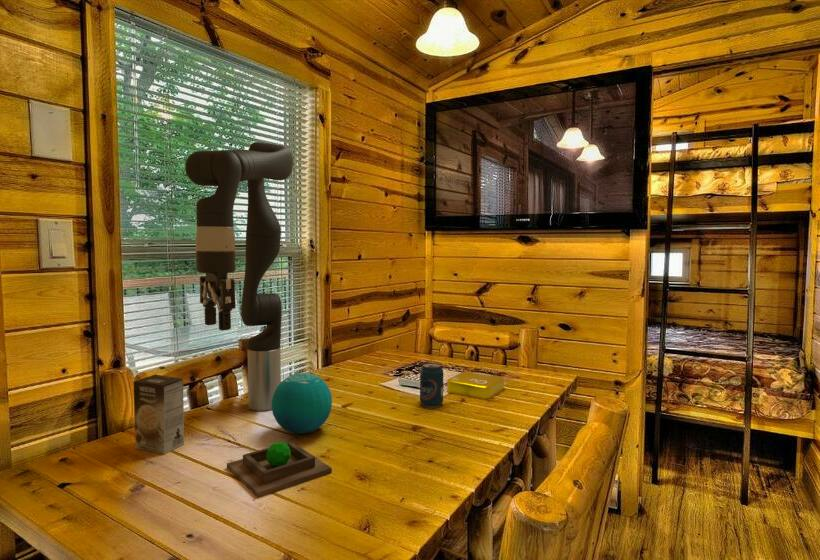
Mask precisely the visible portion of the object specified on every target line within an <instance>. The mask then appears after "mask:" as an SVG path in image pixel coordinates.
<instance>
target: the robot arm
mask: <svg viewBox="0 0 820 560" xmlns="http://www.w3.org/2000/svg"><path fill="white" fill-rule="evenodd" d="M293 168H294V156H293V153H292V151H291V149H289V147H287V146H284V145H280V144H274V143H269V142H268V143H267V142H261V141H255V142H251V144H250V145H249V148H248V149H229V150H197V151H194V152H192V153H191V154H190V155H189V156H188V157H187V158H186V161H185V165H184V169H185V174H186V176H187V177H188V179H189V180H190V181H191V182H192V183H193V184H195V185H198V186H201V187H216V189H215V192H214V193H213V194H212V195H209V196H206V197H202V198H200V199H198V200H197V201H196V206H195V209H196V210H195V212H196V213H195V214H196V232H195V258H196V259H195V265H196V272H197V273H199V274H205V275H202V276H200V277H199V303H200V304H201V305H202V307H203V308H204V325H206V326H215V325H217V321H218V330H220V331H229V330H231V328H232V319H231V317H232V314H231V313H232V311H233V309H234V310H235V309H236V305H237V304H236V284H235V282H236V281H235V278H228V273H234V272H236V238H235V232H234V205H235V200H236V196H237V192H238V189H239V185H240V183H241V182H247V183H246V184H247V214H246V215H247V216H246V228H245V229H246V230H245V262H244V264H245V265H244V278H243V288H242V296H241V306H240V307H241V308H240V316H241V321H242V323H243V325H245V326H247V327H257V326H260V327H261V326H265V328H264V329H263V330H262V331H261V332H259V333H258V334H256V335H253V336H252V337H250V338H248V340H247V343H246V344H247V346H246V347H247V388H248V391H247V392H248V393H247V394H248V395H247V397H248V405H247V406H248V409H250V410H252V411H258V412H259V411H270V410H271V411H272V398H273V395H274V392H275V390H276V388H277V387H278V385H279V384H280V383H281V382H282V377H281V376H282V371H281V370H282V369H281V367H282V366H281V365H282V363H281V362H282V361H281V360H282V358H281V340H282V314H283V313H282V311H283V310H282V309H283V306H282V299H281V298H280V296H279V294H278V293H275V292H267V293H266V292H265V293H258V289H259V286H260V283H261V281H262V278H263V276H264V275H265V274H266V272H267V271H268V270H269V268H270V267H271V266H272V264H273V263H274V262H275V260H276V259H277V257H278V256H279V254H280V250H281V240H282V239H281V237H282V235H281V234H282V229H281V225H280V222H279V219H278V217H277V215H276V214H275V212H274V210H273V208H272V207H271V204H270V202H269V201H268V197H267V194H266V190H265V189H266V187H265V179H266V180H273V181H284V180H287V179H288V178H289V177H290V176H291V174H292V171H293ZM217 311H218V312H217ZM217 313H218V315H217ZM217 316H218V318H217Z"/></svg>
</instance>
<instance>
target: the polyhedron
mask: <svg viewBox="0 0 820 560" xmlns="http://www.w3.org/2000/svg"><path fill="white" fill-rule="evenodd" d="M286 443H287V442H283V441H276V442H274V443H272V444H271V445H269V447H268V448H269V449H268V451H267V453H266V459H267V461H268V462H269V464H270V465H272V466H275V467H279V466H282V465H284V464H286V463H287V462H288V460H289V458H290V456H291V450H290V448H289V446H288V445H287V444H286Z"/></svg>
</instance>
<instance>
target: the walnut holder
mask: <svg viewBox="0 0 820 560" xmlns="http://www.w3.org/2000/svg"><path fill="white" fill-rule="evenodd" d="M285 443H286V444H287V445H288V446H289V448H290V450H291V456H290V458H289V460H288V462H287V463H286V464H284V465H282V466H279V467H275V466H272V465H270V464H269V462H268V461H267V459H266V453H267V451H268V449H269V447H266V448H262V449H259V450H255V451H251V452H248V453H245V454H242V458H241V459H238V460H237V459H236V460H234V461H230V462H226V468H227V470H229V472H230V473H232V474H233V475H234V476H235V478H237V479H238V480H239V481H240V482H241V483H242V484H243V485H244V486H245V487H246V488H247V489H248V490H249V491H250V492H251V493H252V494H253V495H254V496H255V497H256V498H262V497H264V496H267V495H269V494H273V493H275V492H279V491H282V490H284V489H288V488H290V487H293V486H296V485H300V484H302V483H305V482H308V481H311V480H314V479H317V478H320V477H323V476H326V475H329V474H332V472H333V471H332V470H333V469H332V467H331V466H330V465H328V464H327V463H325V462H324V461H322V460H321V459H319V458H318V457H316V456H315V455H313V454H311V453H310V452H309V451H307V450H306V449H305V448H302V447H301V446H300V445H298V444H297V443H294V442H293V441H288V442H285Z"/></svg>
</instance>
